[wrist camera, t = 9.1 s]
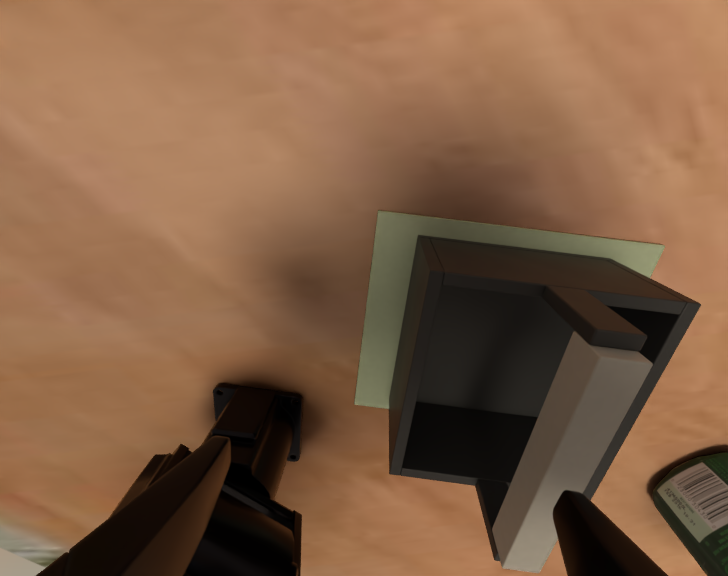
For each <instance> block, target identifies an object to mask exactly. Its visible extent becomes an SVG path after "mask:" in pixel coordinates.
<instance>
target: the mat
mask: <svg viewBox="0 0 728 576" xmlns="http://www.w3.org/2000/svg"><path fill="white" fill-rule="evenodd" d="M418 235H424V236H433V237H441V238H449V239H457V240H465V241H473V242H481V243H489V244H498V245H506V246H514V247H522V248H530V249H538V250H546V251H554V252H563V253H571V254H579V255H587V256H595V257H603V258H611V259H613V260H615V261H616V262H619V263H621V264H623V265H625V266H627V267H629V268H631V269H633V270H635V271H636V272H638V273H640V274H642V275H644V276H646V277H648V278H650V277H651V275H652V273H653V271H654V268H655V266H656V264H657V262H658V260H659V258H660V256H661V254H662V252H663V250H664V248H665V246H664V245H661V244H653V243H645V242H637V241H629V240H620V239H612V238H604V237H596V236H587V235H579V234H571V233H563V232H554V231H546V230H538V229H530V228H521V227H513V226H505V225H497V224H488V223H480V222H472V221H464V220H455V219H447V218H439V217H431V216H423V215H414V214H406V213H398V212H390V211H381V210H378V216H377V224H376V232H375V240H374V248H373V256H372V264H371V272H370V280H369V288H368V296H367V304H366V312H365V321H364V329H363V337H362V345H361V353H360V361H359V369H358V377H357V385H356V393H355V401H354V404H355V405H362V406H370V407H377V408H385V409H389V396H390V390H391V384H392V379H393V373H394V367H395V362H396V356H397V350H398V345H399V339H400V333H401V328H402V322H403V316H404V311H405V305H406V299H407V294H408V288H409V282H410V277H411V271H412V265H413V259H414V254H415V248H416V242H417V237H418Z"/></svg>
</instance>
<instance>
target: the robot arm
mask: <svg viewBox="0 0 728 576" xmlns="http://www.w3.org/2000/svg"><path fill="white" fill-rule="evenodd" d="M220 390H221V391H223V392H221V391H220ZM213 396H214V407H215V419H216V422H215V424H214V426H213V427H212V429H211V430H210V432H209V434H208V435H207V437H206V438H205V440H204V442H203V443H202V445H201V446H200V447H199V448H198V449H196V450H195V451H194V452H191V451H189V450H188V449H189V448H188V447H186V446H184V445H183V444H180V445H179V447H178V448H177V449H176V450H175V451H174V452H173V454H171V453H169V454H163V455H155V456H154V457H153V458H152V459H151V460H150V462H149V463H148V464H147V466H146V467H145V468H144V470H143V471H142V472H141V474H140V475H139V476H138V478H137V479H136V480H135V482H134V483H133V484H132V486H131V487H130V488H129V490H128V491H127V493H126V494H125V495H124V497H123V498H122V500H121V501H120V503H119V504H118V505H117V507H116V508H115V510H114V511H113V513H112V514H111V515H110V517H109V518H108V520H106V521H105V522H104V523H102V524H101V525H100V526H99V527H97V528H96V529H95V530H94V531H92V532H91V533H90V534H89V535H87V536H86V537H85V538H83V539H82V540H81V541H80V542H78V543H77V544H76V545H75V546H73V547H72V548H71V549H70V550H69V553H68V552H66V553H64V554H63V555H62V556H60V557H59V558H58V559H57V560H55V561H54V562H53V563H52V564H50V565H49V566H48V567H46V568H45V569H44V570H43V571H41V572H40V573H39V574H37V575H36V576H300V567H301V526H302V515H301V514H300V513H298V512H296V511H295V510H294V511H291V510H290V509H288V508H286V507H284V506H283V505H281V504H279V503H278V502H276V501H274V499H275V496H276V492H277V489H278V486H279V483H280V480H281V477H282V474H283V471H284V467H285V464H286V461H293V462H295V461H298V460H299V458H300V454H301V434H302V413H303V397H302V396H301V395H300V394H297V393H289V392H282V391H274V390H267V389H259V388H251V387H244V386H236V385H228V384H218V385H217V386H216V387H215V388H214V390H213ZM294 400H297V402H296V401H294ZM553 521H554V525H555V529H556V533H557V537H558V540H559V544H560V548H561V552H562V556H563V560H564V563H565V567H566V571H567V575H568V576H668V575H667V574H666V573H665V572H664V571H663V570H662V569H661V568H660V567H659V566H658V565H657V564H656V563H655V562H653V561H652V560H651V559H650V558H649V557H648V556H647V555H646V554H645V553H644V552H643V551H642V550H641V549H640V548H639V547H638V546H637V545H636V544H635V543H634V542H633V541H632V540H631V539H630V538H629V537H628V536H626V535H625V534H624V533H623V532H622V531H621V530H620V529H619V528H618V527H617V526H616V525H615V524H614V523H613V522H612V521H611V520H610V519H609V518H608V517H607V516H606V515H605V514H604V513H603V512H602V511H601V510H599V509H598V508H597V507H596V506H595V505H594V504H593V503H592V502H591V501H590V500H589V499H588V498H587V497H586V496H585V495H584V494H582V493H581V492H578V491H571V490H565V491H563V492H562V494H561V495H560V497H559V499H558V501H557V503H556V504H555V506H554V508H553Z"/></svg>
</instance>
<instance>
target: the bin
mask: <svg viewBox="0 0 728 576" xmlns="http://www.w3.org/2000/svg"><path fill="white" fill-rule="evenodd" d="M700 306H701V304H700V303H698V302H696V301H694V300H692V299H690V298H688V297H686V296H684V295H682V294H680V293H678V292H676V291H674V290H672V289H670V288H668V287H666V286H664V285H662V284H660V283H658V282H656V281H654V280H652V279H650V278H648V277H646V276H644V275H642V274H640V273H638V272H636V271H635V270H633V269H631V268H629V267H627V266H625V265H623V264H621V263H619V262H616V261H615V260H613V259H611V258H603V257H595V256H587V255H579V254H571V253H563V252H554V251H546V250H538V249H530V248H522V247H514V246H506V245H498V244H489V243H481V242H473V241H465V240H457V239H449V238H441V237H433V236H424V235H418V237H417V242H416V248H415V254H414V259H413V265H412V271H411V277H410V282H409V288H408V294H407V299H406V305H405V311H404V316H403V322H402V328H401V333H400V339H399V345H398V350H397V356H396V362H395V367H394V373H393V379H392V384H391V390H390V396H389V473H390V474H392V475H401V476H407V477H415V478H422V479H430V480H437V481H445V482H452V483H459V484H467V485H474V486H475V487H476V491H477V494H478V498H479V502H480V506H481V510H482V514H483V518H484V522H485V525H486V529H487V533H488V537H489V541H490V545H491V549H492V553H493V556H494V560H496V561H501V565H502V568H505V569H512V570H519V571H526V572H533V573H540V571H541V569H542V567H543V565H544V563H545V562H546V560H547V558H548V556H549V554H550V553H551V551H552V549H553V547H554V545H555V543H556V542H557V540H558V537H557V533H556V529H555V525H554V521H553V508H554V506H555V504H556V503H557V501H558V499H559V497H560V495H561V494H562V492H563V491H565V490H571V491H578V492H581V493H582V494H584V495H585V496H586V497H587V498H588V499H589V500H591V499H592V497H593V495H594V493H595V491H596V490H597V488H598V486H599V484H600V483H601V481H602V479H603V477H604V476H605V474H606V472H607V470H608V468H609V467H610V465H611V463H612V461H613V460H614V458H615V456H616V454H617V453H618V451H619V449H620V447H621V446H622V444H623V442H624V440H625V438H626V437H627V435H628V433H629V431H630V430H631V428H632V426H633V424H634V423H635V421H636V419H637V417H638V416H639V414H640V412H641V410H642V408H643V407H644V405H645V403H646V401H647V400H648V398H649V396H650V394H651V393H652V391H653V389H654V387H655V386H656V384H657V382H658V380H659V378H660V377H661V375H662V373H663V371H664V370H665V368H666V366H667V364H668V363H669V361H670V359H671V357H672V355H673V354H674V352H675V350H676V348H677V347H678V345H679V343H680V341H681V340H682V338H683V336H684V334H685V333H686V331H687V329H688V327H689V325H690V324H691V322H692V320H693V318H694V317H695V315H696V313H697V311H698V310H699V308H700Z"/></svg>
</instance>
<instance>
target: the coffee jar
mask: <svg viewBox="0 0 728 576" xmlns="http://www.w3.org/2000/svg"><path fill="white" fill-rule="evenodd" d="M653 501H654V504H655V506H656V508H657V509H658V511H659V512H660V514H661V515H662V516H663V518H664V519H665V520H666V522H667V523H668V524H669V526H670V527H671V528H672V530H673V531H674V532H675V534H676V535H677V536H678V538H679V539H680V540H681V542H682V543H683V544H684V546H685V547H686V548H687V550H688V551H689V552H690V554H691V555H692V556H693V557H694V559H695V560H696V561H697V563H698V564H699V565H700V567H701V568H702V570H703V571H704V572H705V573H706V574H707V576H728V452H725V453H718V454H713V455H708V456H701V457H697V458H694V459H692V460H689V461H687V462H685V463H683V464H681V465H679V466H677V467H675V468H674V469H672V470H671V471H670V472H669V473H668V474H667V475H666V476H665V477H664V478H663V479H662V480H661V481H660V482H659V483H658V485H657V486H656V487H655V488H654V490H653Z"/></svg>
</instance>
